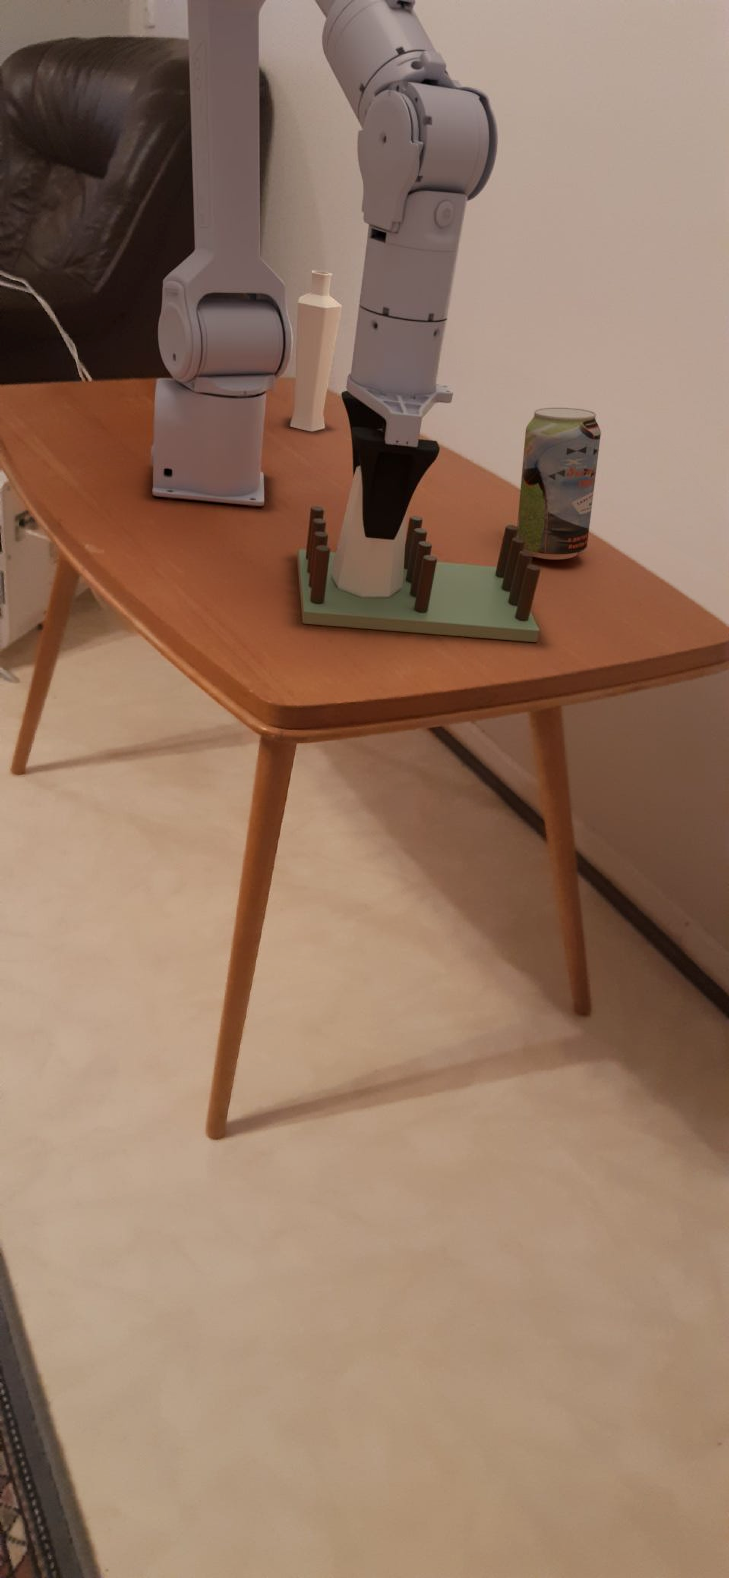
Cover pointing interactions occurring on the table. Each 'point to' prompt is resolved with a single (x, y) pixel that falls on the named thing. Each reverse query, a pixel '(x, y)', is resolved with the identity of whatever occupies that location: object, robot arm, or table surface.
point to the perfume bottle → (314, 351)
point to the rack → (426, 590)
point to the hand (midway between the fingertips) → (374, 516)
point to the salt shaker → (367, 554)
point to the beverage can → (558, 482)
